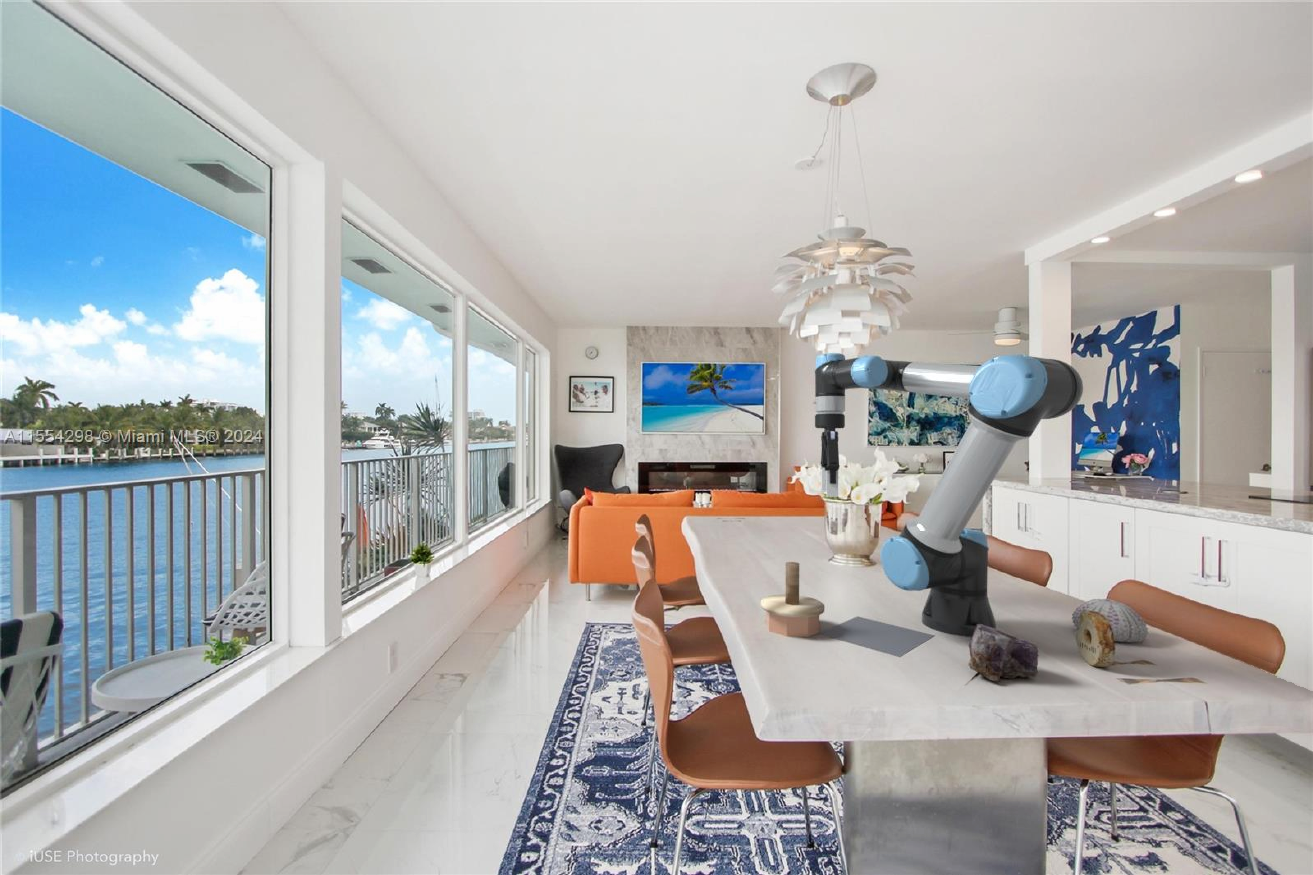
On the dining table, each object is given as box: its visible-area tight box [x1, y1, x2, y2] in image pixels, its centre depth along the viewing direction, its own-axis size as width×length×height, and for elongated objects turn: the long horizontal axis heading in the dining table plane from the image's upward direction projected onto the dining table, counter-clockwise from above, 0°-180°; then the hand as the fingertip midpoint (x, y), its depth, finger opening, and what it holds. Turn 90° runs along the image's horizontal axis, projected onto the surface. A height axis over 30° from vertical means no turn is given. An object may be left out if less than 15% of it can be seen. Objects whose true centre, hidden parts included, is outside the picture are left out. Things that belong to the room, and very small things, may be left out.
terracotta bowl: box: [765, 611, 820, 638], centre depth 129 cm, size 11×11×5 cm
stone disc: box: [1074, 611, 1116, 668], centre depth 111 cm, size 10×4×10 cm, turn 163°
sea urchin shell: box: [1071, 598, 1149, 643], centre depth 127 cm, size 13×14×8 cm
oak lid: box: [760, 561, 825, 617], centre depth 129 cm, size 14×14×10 cm
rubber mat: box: [817, 616, 936, 658], centre depth 125 cm, size 18×18×1 cm
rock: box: [968, 624, 1039, 682], centre depth 106 cm, size 12×9×10 cm
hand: (829, 494), depth 150 cm, fingers open, 13 cm apart
